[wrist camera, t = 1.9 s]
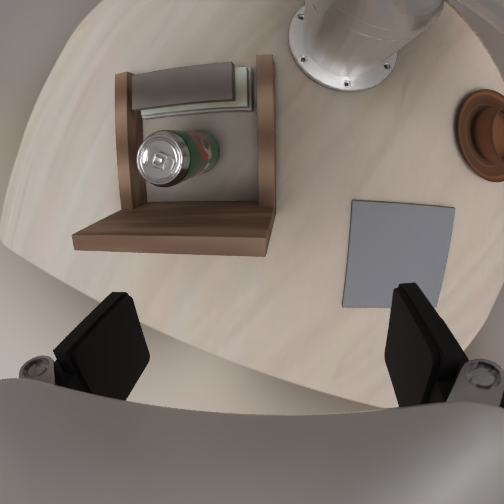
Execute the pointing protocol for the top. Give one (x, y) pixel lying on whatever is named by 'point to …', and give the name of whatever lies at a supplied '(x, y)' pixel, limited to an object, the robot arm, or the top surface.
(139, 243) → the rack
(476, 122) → the cup and saucer
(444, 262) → the mat
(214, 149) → the soda can
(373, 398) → the top surface
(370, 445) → the robot arm
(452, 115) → the top surface
